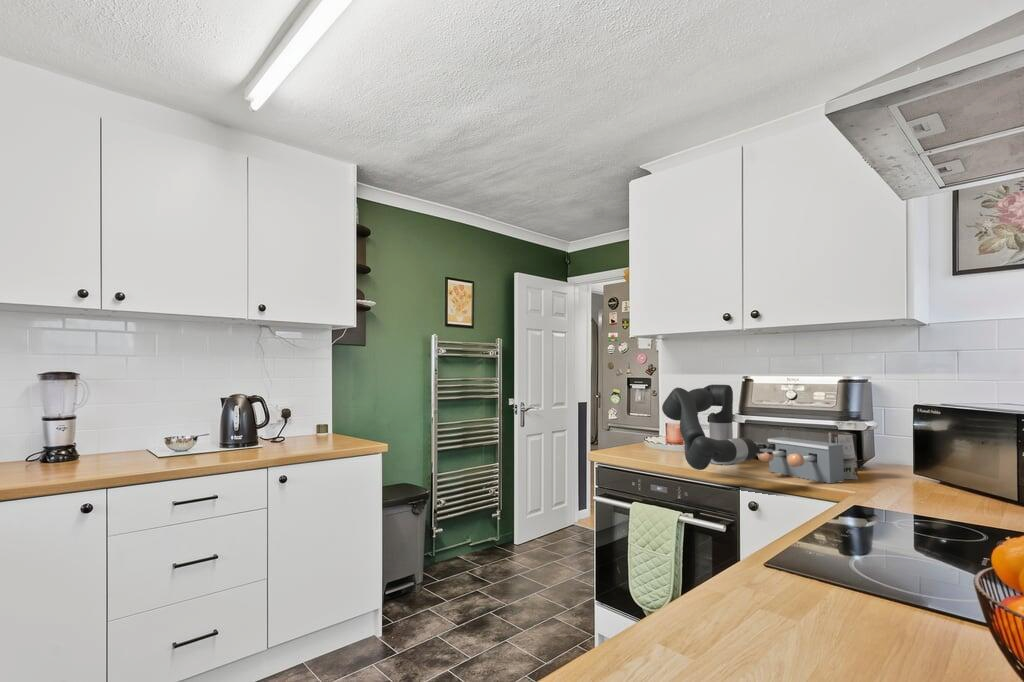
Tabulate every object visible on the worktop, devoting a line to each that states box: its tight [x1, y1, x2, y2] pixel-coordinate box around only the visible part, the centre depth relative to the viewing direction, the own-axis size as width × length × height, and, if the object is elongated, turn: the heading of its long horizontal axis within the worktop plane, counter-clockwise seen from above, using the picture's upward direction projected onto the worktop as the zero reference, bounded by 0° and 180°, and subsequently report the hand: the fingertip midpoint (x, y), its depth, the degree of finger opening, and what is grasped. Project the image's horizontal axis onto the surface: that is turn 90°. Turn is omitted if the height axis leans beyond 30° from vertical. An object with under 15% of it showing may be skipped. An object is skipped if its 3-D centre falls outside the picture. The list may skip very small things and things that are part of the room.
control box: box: [767, 436, 845, 484], centre depth 200 cm, size 24×8×13 cm, turn 27°
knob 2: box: [787, 453, 817, 467], centre depth 191 cm, size 4×12×4 cm, turn 117°
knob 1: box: [757, 451, 787, 463], centre depth 202 cm, size 4×12×4 cm, turn 117°
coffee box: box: [828, 431, 859, 480], centre depth 200 cm, size 9×6×16 cm
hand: (773, 446), depth 185 cm, fingers closed
